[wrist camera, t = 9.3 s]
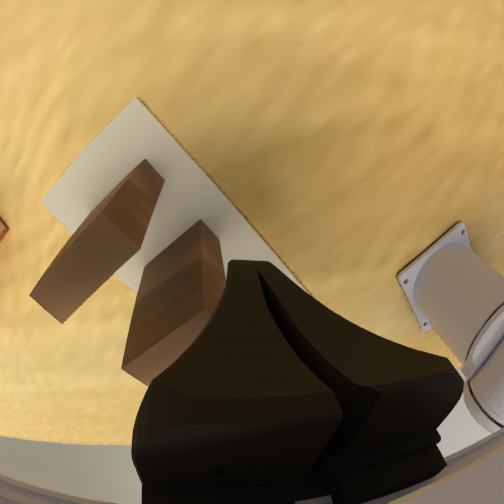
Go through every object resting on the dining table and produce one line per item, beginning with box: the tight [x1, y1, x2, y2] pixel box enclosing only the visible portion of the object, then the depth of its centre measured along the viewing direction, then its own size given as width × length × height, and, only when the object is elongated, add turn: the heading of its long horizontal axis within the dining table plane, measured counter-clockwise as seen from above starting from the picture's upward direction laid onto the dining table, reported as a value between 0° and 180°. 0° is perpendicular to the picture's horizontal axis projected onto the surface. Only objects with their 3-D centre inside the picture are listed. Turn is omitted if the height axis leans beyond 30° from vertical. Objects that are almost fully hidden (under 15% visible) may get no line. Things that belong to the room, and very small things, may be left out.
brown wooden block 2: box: [121, 219, 226, 387], centre depth 16 cm, size 2×5×9 cm, turn 127°
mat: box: [41, 98, 310, 295], centre depth 22 cm, size 23×9×1 cm, turn 37°
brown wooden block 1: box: [29, 159, 165, 324], centre depth 14 cm, size 2×5×9 cm, turn 127°
